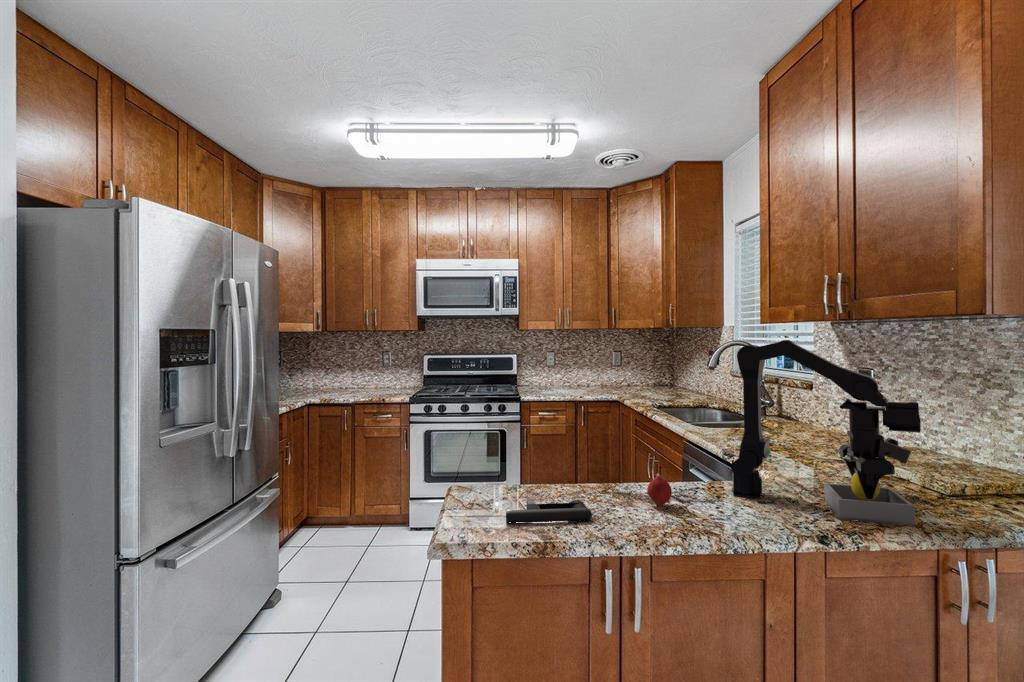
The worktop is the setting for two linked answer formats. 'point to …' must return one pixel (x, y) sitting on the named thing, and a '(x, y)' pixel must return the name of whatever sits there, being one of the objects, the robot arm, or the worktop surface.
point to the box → (869, 506)
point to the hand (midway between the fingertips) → (865, 495)
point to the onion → (659, 490)
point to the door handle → (550, 512)
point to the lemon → (859, 491)
